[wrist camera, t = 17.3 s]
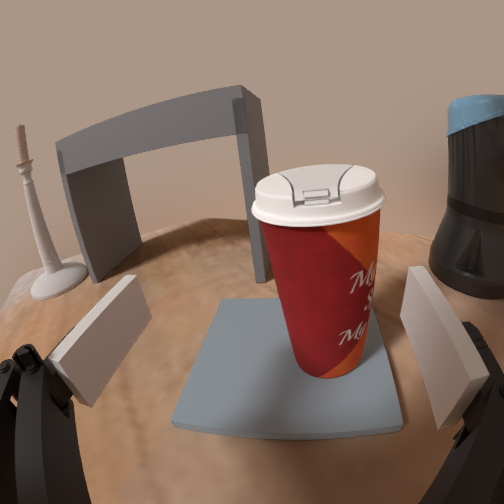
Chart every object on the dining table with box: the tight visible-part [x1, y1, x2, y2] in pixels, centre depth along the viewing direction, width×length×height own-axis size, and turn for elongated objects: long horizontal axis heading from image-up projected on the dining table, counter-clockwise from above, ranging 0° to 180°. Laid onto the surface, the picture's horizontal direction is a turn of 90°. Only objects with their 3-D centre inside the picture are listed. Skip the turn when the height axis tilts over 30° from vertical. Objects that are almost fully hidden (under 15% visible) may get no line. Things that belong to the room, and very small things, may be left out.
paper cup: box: [251, 164, 386, 379], centre depth 18 cm, size 8×8×14 cm
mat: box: [170, 298, 403, 440], centre depth 22 cm, size 16×16×1 cm
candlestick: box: [15, 125, 88, 300], centre depth 36 cm, size 13×13×30 cm
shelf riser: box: [55, 85, 270, 283], centre depth 40 cm, size 28×16×24 cm, turn 81°
